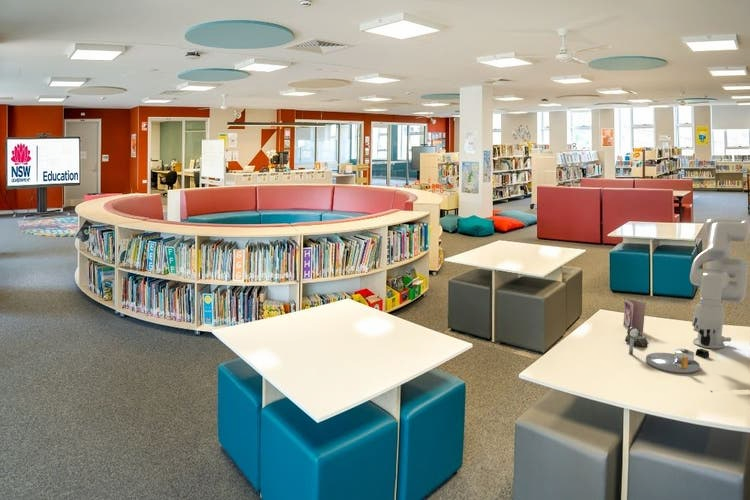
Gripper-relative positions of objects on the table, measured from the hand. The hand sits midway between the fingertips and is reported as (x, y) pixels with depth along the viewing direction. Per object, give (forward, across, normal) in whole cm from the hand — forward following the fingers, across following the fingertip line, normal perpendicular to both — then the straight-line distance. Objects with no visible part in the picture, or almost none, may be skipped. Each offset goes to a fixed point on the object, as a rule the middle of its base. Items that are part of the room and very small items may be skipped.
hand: (704, 344), depth 229 cm
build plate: (+10, -6, -10) cm, 15 cm away
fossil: (+10, +14, -27) cm, 32 cm away
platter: (+9, +13, -1) cm, 16 cm away
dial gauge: (+10, +22, -14) cm, 28 cm away
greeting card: (+9, +3, -51) cm, 52 cm away
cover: (+7, +8, -1) cm, 11 cm away
